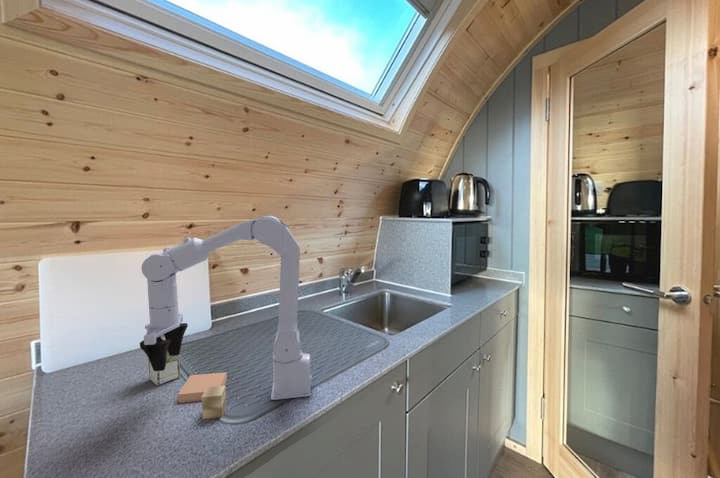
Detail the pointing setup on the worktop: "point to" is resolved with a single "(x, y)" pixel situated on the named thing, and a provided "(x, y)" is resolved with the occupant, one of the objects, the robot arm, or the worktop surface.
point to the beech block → (214, 402)
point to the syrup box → (166, 369)
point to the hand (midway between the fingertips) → (167, 362)
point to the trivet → (200, 386)
